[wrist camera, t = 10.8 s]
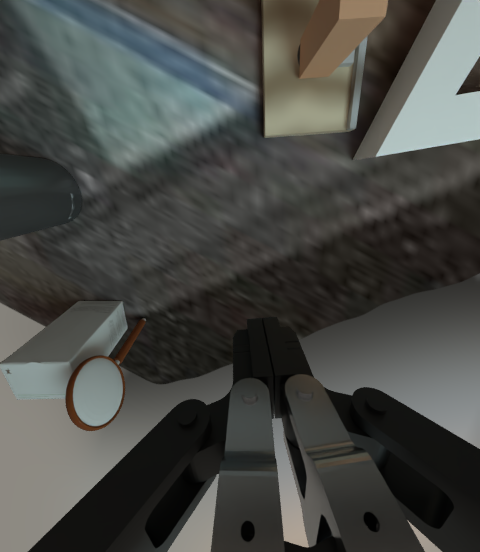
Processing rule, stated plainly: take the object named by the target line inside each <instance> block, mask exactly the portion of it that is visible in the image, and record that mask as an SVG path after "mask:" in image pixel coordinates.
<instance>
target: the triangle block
mask: <svg viewBox="0 0 480 552" xmlns="http://www.w3.org/2000/svg"><path fill="white" fill-rule="evenodd" d="M479 56H480V0H436V1H435V3H434V5H433V7H432V9H431V11H430V13H429V14H428V16H427V18H426V20H425V22H424V24H423V26H422V28H421V30H420V32H419V34H418V36H417V37H416V39H415V41H414V43H413V45H412V47H411V49H410V51H409V53H408V55H407V57H406V58H405V60H404V62H403V64H402V66H401V68H400V70H399V72H398V74H397V76H396V78H395V80H394V81H393V83H392V85H391V87H390V89H389V91H388V93H387V95H386V97H385V99H384V101H383V103H382V104H381V106H380V108H379V110H378V112H377V114H376V116H375V118H374V120H373V122H372V124H371V126H370V127H369V129H368V131H367V133H366V135H365V137H364V139H363V141H362V143H361V145H360V147H359V148H358V150H357V152H356V154H355V156H354V158H353V160H357V159H364V158H370V157H377V156H383V155H388V154H394V153H400V152H406V151H412V150H418V149H424V148H430V147H436V146H442V145H448V144H453V143H459V142H465V141H471V140H477V139H480V91H477V92H471V93H466V94H460V95H456V93H457V92H458V90H459V88H460V87H461V85H462V84H463V82H464V80H465V79H466V77H467V76H468V74H469V72H470V71H471V69H472V68H473V66H474V64H475V63H476V61H477V60H478V58H479Z"/></svg>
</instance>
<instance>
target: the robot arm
mask: <svg viewBox="0 0 480 552" xmlns="http://www.w3.org/2000/svg"><path fill="white" fill-rule="evenodd" d="M81 206H82V198H81V193H80V190H79V187H78V185H77V183H76V181H75V180H74V178H73V177H72V176H71V175H70V173H69V172H68V171H66V170H65V169H64V168H63V167H62V166H60V165H59V164H57V163H55V162H53V161H51V160H48V159H44V158H36V157H27V156H18V155H9V154H0V241H1V240H5V239H8V238H12V237H16V236H20V235H23V234H27V233H31V232H35V231H38V230H42V229H46V228H50V227H54V226H57V225H61V224H65V223H68V222H70V221H72V220H73V219H75V218H76V217H77V215H78V214H79V212H80V210H81ZM247 327H248V329H246V330H237V332H236V333H235V335H234V337H233V386H232V388H231V390H230V392H229V393H228V394H227V395H226V396H225V397H224V398H222V399H221V400H219V401H216V402H214V403H211V404H210V405H206V404H205V403H204V402H202V401H200V400H196V399H190V400H186V401H183V402H181V403H180V404H178V405H177V406H176V407H174V408H173V409H172V410H171V411H170V413H168V414H167V415H166V417H164V418H163V419H162V420H161V421H160V422H159V423H158V424H157V425H156V426H155V427H154V428H153V429H152V430H151V431H150V432H149V433H148V434H147V435H146V436H145V437H144V438H143V439H142V440H141V441H140V442H139V443H138V444H137V445H136V446H135V447H134V448H133V449H132V450H131V451H130V452H129V453H128V454H127V455H126V456H125V457H124V458H123V459H122V460H121V461H120V462H119V463H118V464H117V465H116V466H115V467H114V468H113V469H112V470H110V471H109V472H108V473H107V474H106V475H105V476H104V477H103V478H102V479H101V481H99V482H98V483H97V484H96V485H95V486H94V487H93V488H92V489H91V490H90V491H89V492H88V493H87V494H86V495H85V496H84V497H83V498H82V499H81V500H80V501H79V502H78V503H77V504H76V505H75V506H74V507H73V508H72V509H71V510H70V511H69V512H68V513H67V514H66V515H65V516H64V517H63V518H62V519H61V520H60V521H59V522H58V523H57V524H56V525H55V526H54V527H53V528H52V529H51V530H50V531H49V532H48V533H46V535H44V536H43V538H41V540H40V541H38V542H37V543H36V544H35V545H34V546H33V547H32V548H31V549H30V550H29V551H28V552H167V551H168V549H169V548H170V546H171V545H172V543H173V542H174V540H175V539H176V537H177V536H178V534H179V533H180V531H181V530H182V528H183V526H184V525H185V523H186V522H187V520H188V519H189V517H190V516H191V514H192V513H193V511H194V510H195V508H196V507H197V505H198V504H199V502H200V500H201V499H202V497H203V496H204V495H205V493H206V491H207V490H208V488H209V487H210V485H211V484H212V482H213V481H214V479H215V477H216V475H217V474H219V480H218V490H217V499H216V508H215V518H214V527H213V536H212V546H211V552H425V551H424V549H423V547H422V546H421V544H420V542H419V540H418V539H417V537H416V535H415V533H414V531H413V530H412V528H411V526H410V524H409V523H408V521H409V522H410V523H411V524H412V525H414V526H415V527H416V528H417V529H418V530H419V531H420V532H421V533H422V534H424V535H425V536H426V537H427V538H428V539H429V540H430V541H431V542H432V543H433V544H435V545H436V546H437V547H438V548H439V549H440V550H441V551H442V552H480V449H479V448H477V447H475V446H473V445H472V444H470V443H468V442H467V441H465V440H463V439H462V438H460V437H458V436H456V435H455V434H453V433H451V432H450V431H448V430H446V429H444V428H443V427H441V426H439V425H438V424H436V423H435V422H433V421H431V420H429V419H428V418H426V417H424V416H423V415H421V414H419V413H418V412H416V411H414V410H412V409H411V408H409V407H407V406H406V405H404V404H402V403H401V402H398V401H397V400H396V399H394V398H392V397H390V396H389V395H387V394H385V393H383V392H382V391H380V390H377V389H374V388H367V387H364V388H360V389H357V390H356V391H355V392H354V393H353V396H351V395H346V394H342V393H337V392H334V391H331V390H328V389H326V388H325V387H323V385H322V384H321V383H320V382H319V381H318V380H317V379H315V378H314V376H313V375H312V372H311V369H310V367H309V364H308V362H307V360H306V357H305V355H304V352H303V350H302V348H301V345H300V342H299V340H298V338H297V335H296V333H295V332H294V331H293V330H292V329H291V328H290V327H289V326H287V327H280V325H279V321H278V318H277V317H269V318H262V319H261V318H256V319H247ZM273 414H275V418H282V422H283V427H284V442H285V445H286V449H287V453H288V457H289V460H290V464H291V468H292V472H293V475H294V479H295V483H296V487H297V490H298V494H299V498H300V502H301V507H302V513H303V521H304V526H305V532H306V536H307V540H308V544H309V547H308V548H306V547H302V546H299V545H295V544H292V543H289V542H286V541H284V537H283V526H282V515H281V505H280V494H279V482H278V472H277V463H276V459H275V451H274V440H273V428H272V419H273V418H274V415H273ZM407 520H408V521H407Z"/></svg>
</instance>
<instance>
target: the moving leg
mask: <svg viewBox="0 0 480 552" xmlns="http://www.w3.org/2000/svg"><path fill="white" fill-rule="evenodd" d="M387 4H388V0H319V2H318V4H317V6H316V9H315V11H314V13H313V15H312V17H311V19H310V21H309V23H308V25H307V27H306V29H305V31H304V33H303V35H302V37H301V41H300V70H299V79H304V78H319V77H329V76H330V75H331V74H332V73H333V72H334V71H335V69H336V68H337V67H349V66H351V65H352V64H353V63H354V54H355V48H356V47H357V46H358V45H359V44H360V43H361V42H362V41H363V40H364V39H365V38H366V37H367V36H368V34H369V33H370V32H371V31H372V30H373V29H374V28H375V27H376V26H377V25H378V24H379V23H380V22H381V21H382V20H383V19H384V18H385V16H386V11H387Z"/></svg>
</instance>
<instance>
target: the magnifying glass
mask: <svg viewBox="0 0 480 552" xmlns="http://www.w3.org/2000/svg"><path fill="white" fill-rule="evenodd" d="M145 321H146V319H145V318H142V319H141V320H139V322H138V323H137V325H136V326H135V328H134V329H133V331H132V332H131V334H130V335H129V337H128V338H127V340H126V342H125V343H124V345H123V346H122V348H121V349H120V351H119V352H118V354H117V355H116V357H115V358H114V360H113V359H111V358H110V357H107V356H103V355H98V356H93V357H90V358H88V359H86V360H84V361H83V362H82V363H80V364H79V365H78V366H77V368H76V369H75V370H74V372H73V373H72V375H71V377H70V379H69V381H68V385H67V389H66V396H65V399H66V408H67V412H68V415H69V417H70V419H71V420H72V422H73V423H74V424H75V425H76V426H77V427H79V428H81V429H83V430H86V431H95V430H99V429H102V428H104V427H106V426H107V425H108V424H109V423H111V421H113V420H114V418H115V417H116V416H117V414H118V413H119V411H120V409H121V407H122V404H123V400H124V395H125V381H124V376H123V373H122V371H121V369H120V367H119V365H120V364H121V363H122V361H123V359H124V358H125V356H126V354H127V353H128V351H129V349H130V348H131V346H132V344H133V343H134V341H135V339H136V338H137V336H138V335H139V333H140V331H141V330H142V328H143V326H144V325H145V323H146V322H145Z"/></svg>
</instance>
